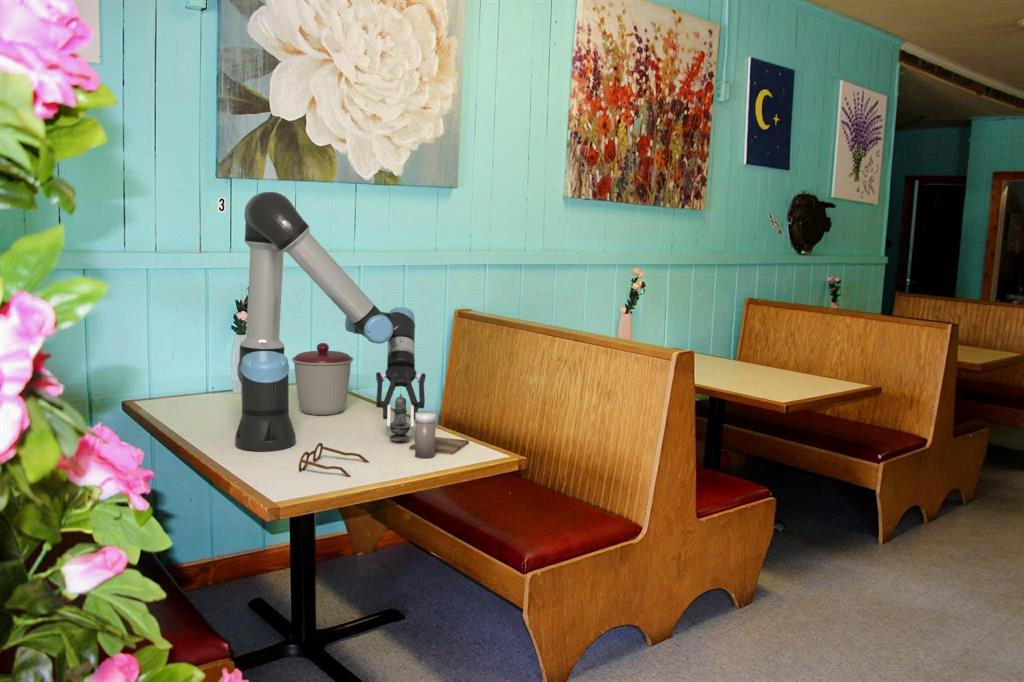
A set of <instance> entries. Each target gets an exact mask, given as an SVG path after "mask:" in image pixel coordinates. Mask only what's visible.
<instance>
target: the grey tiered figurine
mask: <svg viewBox="0 0 1024 682" xmlns="http://www.w3.org/2000/svg"><path fill="white" fill-rule="evenodd" d="M394 400H395V401H394V402H395V405H394V410H393V412H394V418H393V421H392V422H390V432H391V433H392V435H391V436H389V439H390V440H392V441H407V440H409V439H410V436H409V435H407V434H408V433H409V432H410V423H409V422H408V421H407V412H408V410H407V399H406V398H405V397H403V394H402V393H400V394H399V396H398V397H396V398H395V399H394Z"/></svg>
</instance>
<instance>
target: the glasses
mask: <svg viewBox="0 0 1024 682" xmlns="http://www.w3.org/2000/svg"><path fill="white" fill-rule="evenodd" d="M319 447H320V450H319V453H318V456H317V458H316V454H317V451H318V449H319ZM323 450H324V451H327V452H332V453H336V454H338V455H339V454H340V455H342V456H345V457H346V456H354V457H358V458H359V459H360V460H362V461H363V462H364V463H367V464H370V461H369V460H367V458H366V457H364V456H363V455H361V454H360V453H355V452H344V451H341V450H337V449H334V448H330V447H328V446H324V444H323V442H318V444H317V445H316V446H315V447H314V450H312V451H310V452H309V451H305V452H303V453H302V455H301V457H300V459H299V463H298V471H299V472H303V471H305V470H306V468H307V467H308V465H309V466H313V467H317V468H320V469H323V470H339V471H340V472H342V474H344V476H346V478H352V476H351V475H350V474H349V472H347V471H346V470H345V468H343V467H341V466H336V465H332V466H328V465H327V466H326V465H322V464H319V463H316V462H318V461H319V460H320V458H321V456H322V453H323ZM305 456H306V460H305V459H304V457H305ZM311 456H313V457H312V461H313V462H312V461H309V459H310V457H311ZM318 459H319V460H318ZM317 460H318V461H317ZM315 461H316V462H315ZM302 464H303V467H302ZM302 470H303V471H302Z"/></svg>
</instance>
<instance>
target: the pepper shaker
mask: <svg viewBox="0 0 1024 682" xmlns="http://www.w3.org/2000/svg"><path fill="white" fill-rule="evenodd" d="M414 423H415V425H414V426H415V428H414V429H415V430H414V431H415V432H414V433H415V434H414V435H415V436H414V438H415V440H414V443H415V450H414V457H415V458H417V459H425V460H427V459H428V460H429V459H433V458H435V457H436V453H435V437H436V426H437V425H436V423H437V413H436V412H435V411H433V410H432V411H431V410H418V412H416V413H415V420H414Z"/></svg>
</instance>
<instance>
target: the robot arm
mask: <svg viewBox="0 0 1024 682" xmlns="http://www.w3.org/2000/svg"><path fill="white" fill-rule="evenodd" d="M243 216H244V220H245V224H244V225H245V228H244V229H245V230H244V231H245V232H244V243H245V244H246V245H247V246H248V247H249V250H250V253H249V270H248V271H249V272H248V274H249V275H248V289H247V291H248V294H247V313H246V332H245V333H246V335H245V336H246V337H245V339H243V340H242V341H240V343H239V355H238V356H239V359H238V364H237V366H236V369H237V370H236V371H237V378H238V380H239V383H240V385H241V417H240V421H239V424H238V426H237V430H236V433H235V435H234V436H235V437H234V444H235V447H236V448H238V449H241V450H245V451H249V452H250V451H251V452H268V451H269V452H270V451H279V450H284V449H288V448H291V447H293V446H295V445H296V443H297V440H296V439H297V438H296V437H297V435H296V432H295V430H294V425H293V423H292V419H291V417H290V414H289V413H290V412H289V411H290V410H289V409H290V407H289V405H290V403H289V396H290V395H289V391H290V390H289V372H290V365H289V359H288V357H287V356H286V355H285V344H284V343H283V342H282V341H281V339H280V328H281V327H280V325H281V313H282V312H281V309H282V306H281V305H282V291H283V273H284V252H285V253H287V254H288V256H290V257H291V258H292V260H294V262H296V263H297V265H298V266H299V267H300V268H301V269H302V270H303V271H304V272H305V273H306V274H307V275H308V276H309V278H310V279H311V280H312V281H313V282H314V283H315V284H316V285H317V286H318V287H319V288H320V289H321V291H322V292H323V294H325V295H326V296H327V297H328V298H329V299H330V300H331V301H332V302H333V304H335V306H337V308H338V309H339V310H340V311H341V312H342V313H343V314H344V315H345V321H344V323H345V324H344V325H345V326H344V327H345V330H346V331H347V332H349V333H353V334H357V335H362V336H363V338H365V339H366V340H368V342H370V343H373V344H377V345H378V344H384V343H387V362H386V365H387V366H386V370H385V372H382V373H381V372H380V371H379V372H376V373H375V381H376V384H377V387H376V388H377V389H376V403H375V404H376V408H382V418H383V420H386V432H391V430H390V423H391V404H390V403H391V400H392V398H393V395H394V391H395V389H396V388H398V387H403V388H405V389H406V392H407V395H408V397H409V402H410V403H411V405H410V411H409V412H410V415H409V417H410V419H409V420H410V423H409V424H410V429H409V432H410V433H413V432H414V429H415V428H414V426H415V425H414V423H415V413H416V412H419V409H424V408H425V404H426V403H425V399H426V398H425V397H426V396H425V382H426V377H427V376H426V373H424V372H423V373H417V371H416V368H415V367H416V366H415V365H416V364H415V363H416V359H415V357H416V354H415V353H416V352H415V347H416V346H415V342H416V341H415V338H416V337H415V334H416V333H415V331H416V322H415V321H416V320H415V315H414V312H413V311H412V310H411V309H410V308H408V307H403V306H401V307H397V306H396V307H394V308H392V309H390V311H388V312H384V311H381V310H380V309H379V307H377V306H376V305H375V304H374V302H373V301H372V300H371V299H370V298H369V296H367V295H366V294H365V292H364V291H363V290H362V289H361V288H360V287H359V286H358V285H357V283H355V281H354V280H353V279H352V278H351V277H350V276H349V274H348V273H346V271H345V270H344V269H343V268H342V267H341V266H340V265H339V263H338V262H336V260H334V258H333V257H332V256H331V255H330V254H329V253H328V251H327V250H326V249H325V248H324V247H323V246H322V245H321V244H320V242H319V241H318V240H317V239H316V238H315V237H314V236H313V235H312V233H310V226H309V224H308V223H307V222H306V221H305V220H304V219H303V217H302V216H301V215H300V214H299V212H298V211H297V209H296V208H295V206H294V205H293V203H292V202H291V201H290V200H289V199H288V198H287V197H286V196H285V195H283V194H281V193H279V192H277V191H276V192H275V191H263V192H262V191H261V192H259V193H256V194H255V195H253V196H252V197H251V198H250V199H249V200H248V202H247V204H246V205H245V207H244V215H243ZM385 379H387V381H389V382H390V383H389V386H388V389H387V392H386V394H385V397H384V400H382V398H383V397H382V395H383V382H384V381H385ZM415 379H416V381H417V383H418V395H419V399H418V400H419V401H418V400H417V396H416V393H415V390H414V387H413V381H414V380H415Z"/></svg>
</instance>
